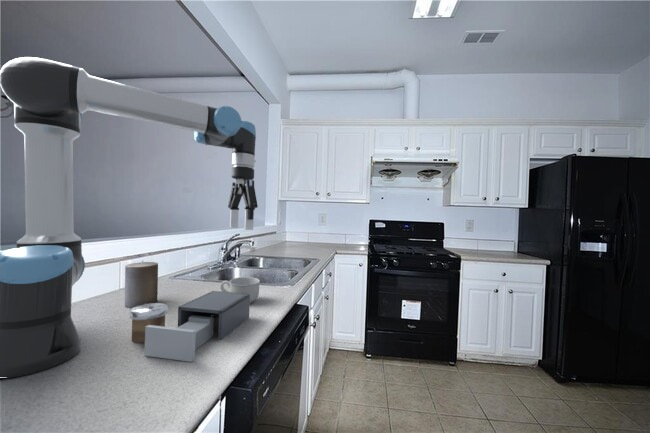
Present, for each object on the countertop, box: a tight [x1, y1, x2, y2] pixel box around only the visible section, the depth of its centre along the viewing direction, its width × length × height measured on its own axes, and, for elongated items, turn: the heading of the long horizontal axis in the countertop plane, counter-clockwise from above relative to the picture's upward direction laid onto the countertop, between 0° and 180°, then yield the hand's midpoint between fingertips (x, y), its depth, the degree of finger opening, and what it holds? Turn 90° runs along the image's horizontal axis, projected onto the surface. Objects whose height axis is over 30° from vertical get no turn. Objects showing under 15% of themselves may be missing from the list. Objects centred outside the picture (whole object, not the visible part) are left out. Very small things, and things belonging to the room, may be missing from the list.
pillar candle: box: [124, 260, 159, 309], centre depth 96 cm, size 10×10×15 cm
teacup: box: [220, 276, 261, 304], centre depth 102 cm, size 14×11×8 cm
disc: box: [129, 302, 169, 320], centre depth 70 cm, size 8×8×2 cm
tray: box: [144, 315, 215, 363], centre depth 67 cm, size 12×12×6 cm
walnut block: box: [131, 315, 166, 344], centre depth 70 cm, size 5×5×6 cm
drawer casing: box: [177, 290, 251, 341], centre depth 79 cm, size 16×12×8 cm
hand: (240, 228), depth 97 cm, fingers open, 13 cm apart
